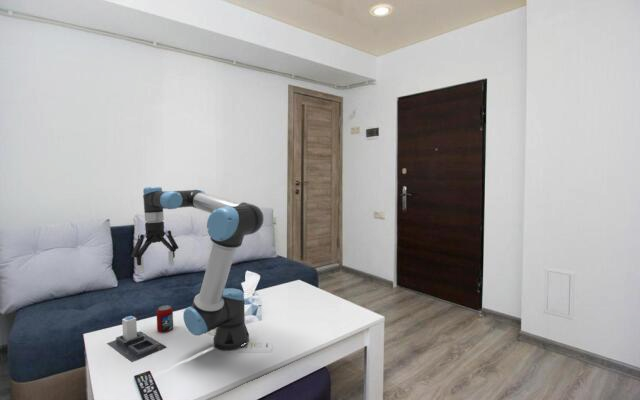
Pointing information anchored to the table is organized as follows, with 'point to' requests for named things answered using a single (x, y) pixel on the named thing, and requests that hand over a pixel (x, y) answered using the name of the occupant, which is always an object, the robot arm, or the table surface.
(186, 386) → the table surface
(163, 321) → the beverage can
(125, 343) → the grey socket board
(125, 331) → the plug
